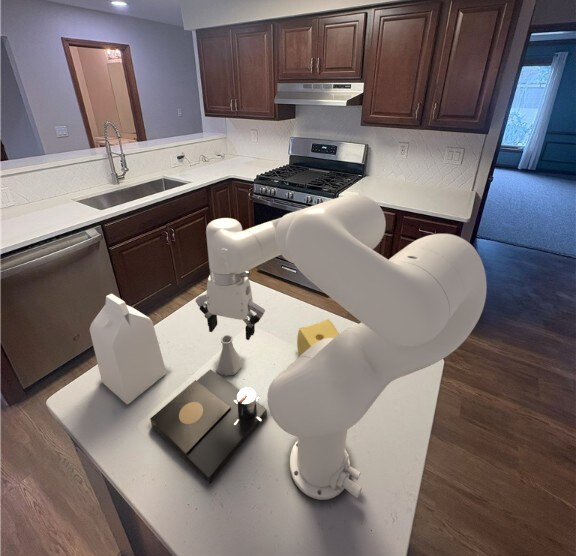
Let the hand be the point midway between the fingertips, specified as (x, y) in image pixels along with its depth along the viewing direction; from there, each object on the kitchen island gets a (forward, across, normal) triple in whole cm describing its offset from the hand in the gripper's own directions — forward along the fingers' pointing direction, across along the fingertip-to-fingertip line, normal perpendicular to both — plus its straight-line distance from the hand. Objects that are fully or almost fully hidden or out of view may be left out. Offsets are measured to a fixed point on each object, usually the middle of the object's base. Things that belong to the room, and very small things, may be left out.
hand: (231, 332), depth 77 cm
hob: (+18, +2, +11) cm, 21 cm away
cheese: (+18, -21, -14) cm, 31 cm away
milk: (+18, +27, +5) cm, 33 cm away
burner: (+16, +6, +12) cm, 21 cm away
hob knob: (+16, -7, +8) cm, 19 cm away
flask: (+18, +4, -5) cm, 19 cm away
